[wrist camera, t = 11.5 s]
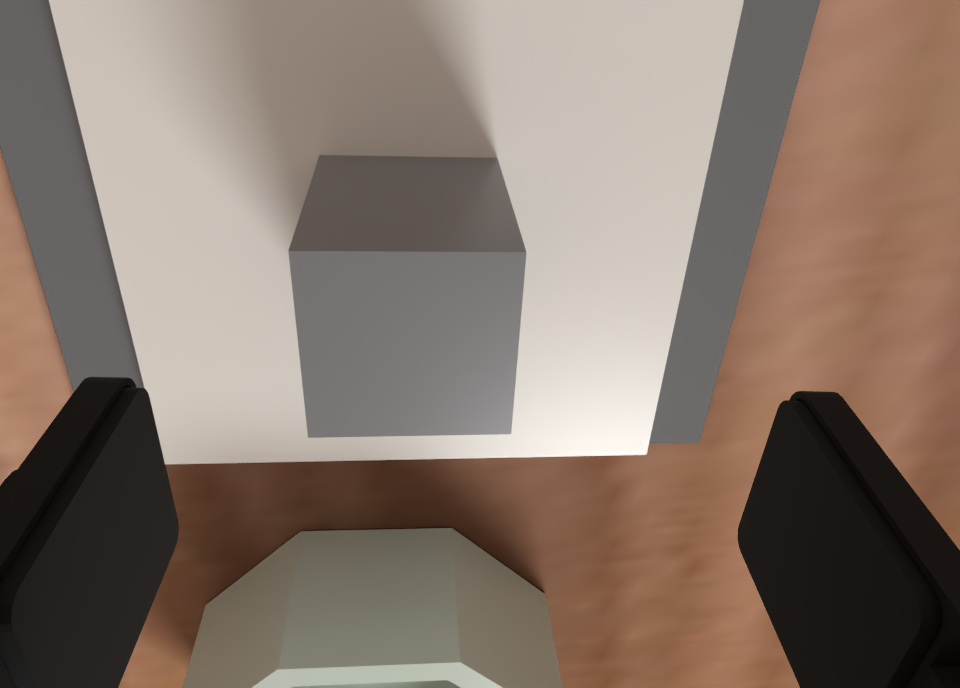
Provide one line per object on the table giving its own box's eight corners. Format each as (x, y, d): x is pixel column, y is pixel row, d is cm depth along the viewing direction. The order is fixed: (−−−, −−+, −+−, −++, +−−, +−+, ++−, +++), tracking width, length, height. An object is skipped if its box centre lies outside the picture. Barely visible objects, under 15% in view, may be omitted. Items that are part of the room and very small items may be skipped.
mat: (829, -79, 16) (840, -78, 15) (694, 432, 23) (699, 442, 23) (-68, -132, 14) (-83, -133, 14) (97, 438, 21) (91, 449, 21)
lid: (750, -87, 15) (904, -70, 10) (641, 441, 23) (702, 591, 18) (32, -122, 14) (-163, -120, 9) (169, 450, 21) (100, 614, 17)
